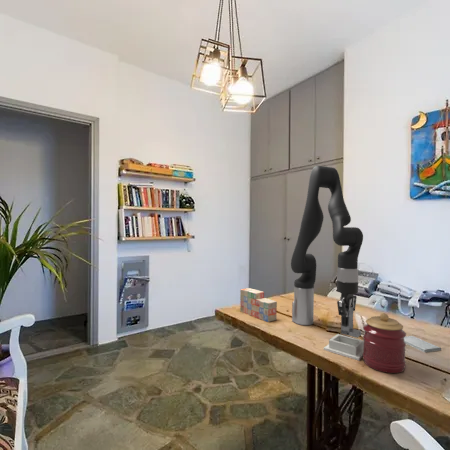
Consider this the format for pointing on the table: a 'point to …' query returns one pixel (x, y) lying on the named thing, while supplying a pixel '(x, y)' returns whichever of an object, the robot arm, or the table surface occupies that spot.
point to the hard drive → (420, 344)
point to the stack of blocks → (257, 304)
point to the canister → (384, 344)
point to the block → (350, 326)
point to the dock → (346, 346)
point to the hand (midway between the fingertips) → (346, 324)
